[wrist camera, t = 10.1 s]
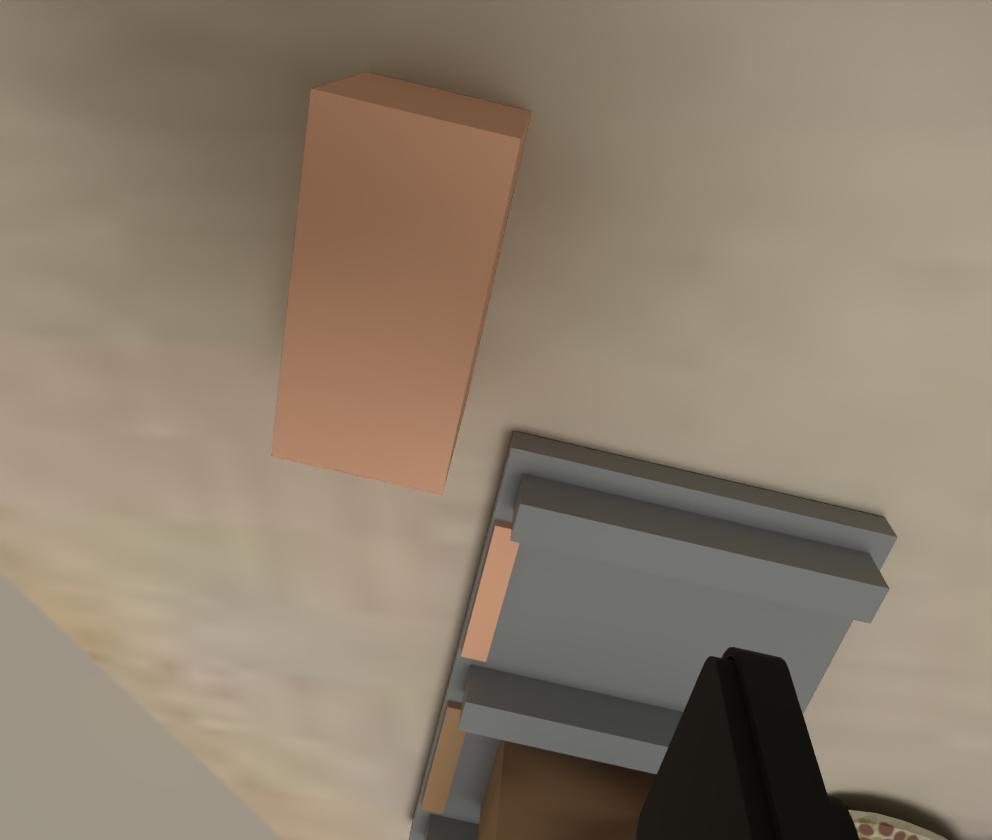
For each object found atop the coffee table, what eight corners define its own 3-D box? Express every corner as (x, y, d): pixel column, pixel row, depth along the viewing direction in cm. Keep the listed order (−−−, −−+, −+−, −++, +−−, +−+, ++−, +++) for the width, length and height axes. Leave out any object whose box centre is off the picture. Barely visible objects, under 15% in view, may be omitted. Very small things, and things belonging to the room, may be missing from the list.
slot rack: (513, 430, 24) (507, 476, 21) (885, 517, 24) (919, 572, 21) (412, 820, 31) (400, 886, 29) (695, 883, 31) (705, 952, 29)
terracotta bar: (369, 71, 20) (310, 88, 15) (531, 111, 20) (521, 138, 15) (328, 371, 23) (271, 456, 19) (466, 403, 23) (441, 494, 19)
